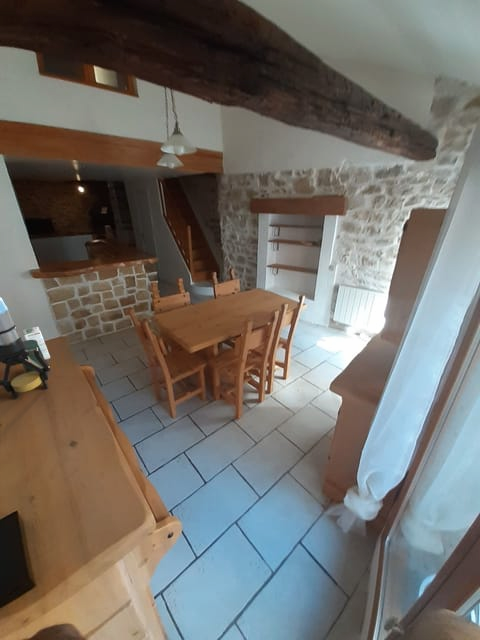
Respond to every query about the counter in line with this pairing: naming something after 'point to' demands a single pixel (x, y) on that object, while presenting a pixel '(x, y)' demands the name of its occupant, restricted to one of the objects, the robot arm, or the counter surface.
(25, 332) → the syrup box
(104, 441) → the counter surface
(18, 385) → the lid
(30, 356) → the green upright cylinder
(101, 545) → the counter surface
